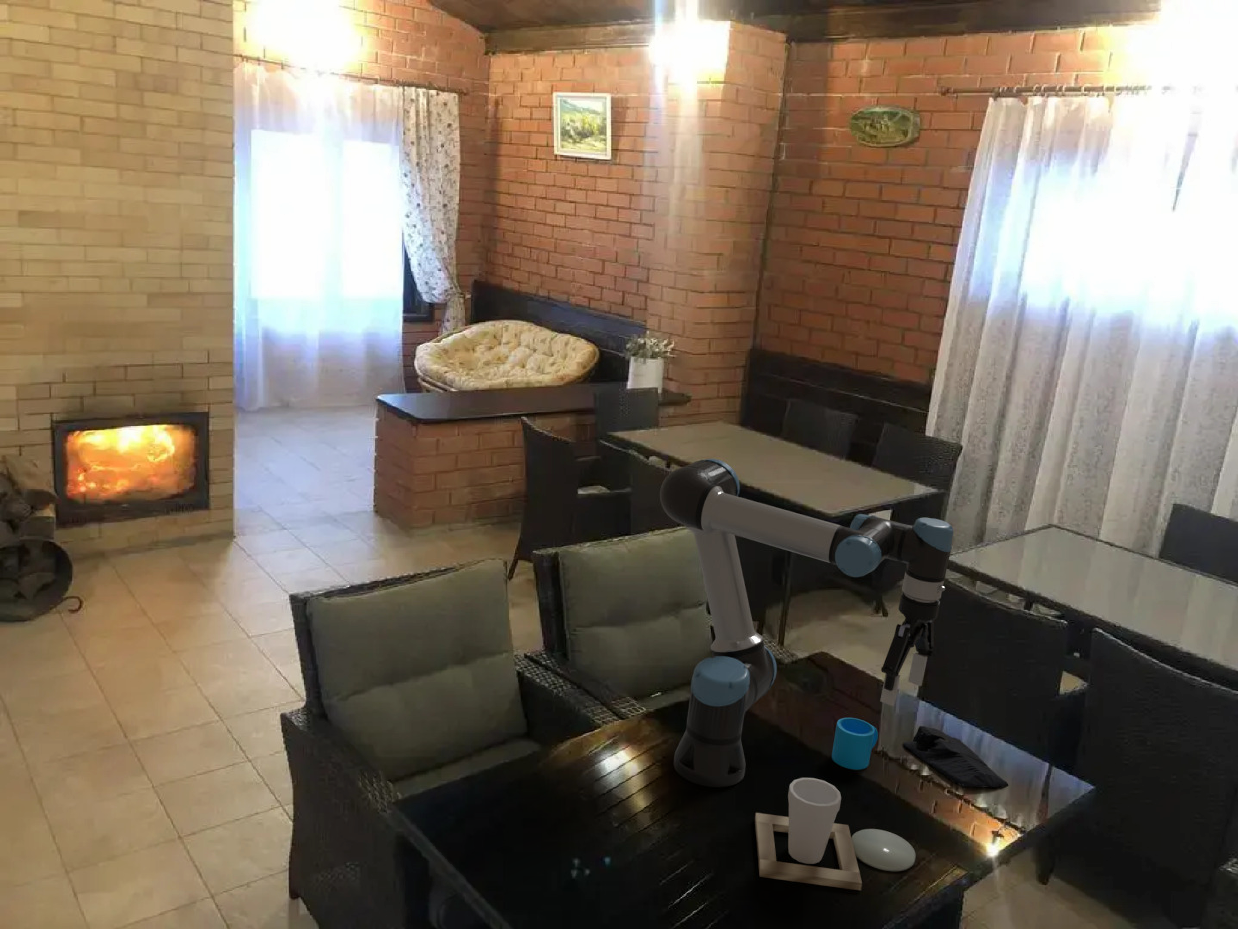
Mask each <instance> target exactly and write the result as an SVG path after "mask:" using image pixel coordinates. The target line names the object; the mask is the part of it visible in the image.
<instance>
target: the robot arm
mask: <svg viewBox="0 0 1238 929" xmlns="http://www.w3.org/2000/svg"><path fill="white" fill-rule="evenodd" d="M740 488H741V487H740V480H739V476H738V475H737V473H736V471H735V470H734V469H733V468H732V466H730V465H729V464H727V463H726V462H724V461H723V460H720V459H716V458H708V459H707V458H706V459H700V460H697V461H693V462H691V463H690V464H688V465H685V466H682V467H680V468H677V469H675V470H673V471H672V472H670V473H669V474H668V475H667V476H666V477H665V479H664V480H663V481H662V484H661V487H660V489H659V498H660V500H659V501H660V504H661V507H662V509H663V511H664V512H665V513H666V514H667V516H668V517H669V518H671V519H672V521H674V522H676V523H679V524H680V525H684V526H685V528H686V529H688V530H689V531H691V532H692V533H693V534H694V539H695V545H696V550H697V554H698V560H699V563H700V568H701V574H702V578H703V583H704V588H705V592H706V597H707V602H708V606H709V610H710V611H709V612H710V616H711V621H712V625H713V631H714V635H715V639H714V641H713V642H712V644H711V645H710V650H711V655H712V657H711V656H710V657H706V658H704V659H703V660H701V661H700V662H698V663H697V664H696V665H695V668H694V670H693V674H692V676H691V677H692V678H691V681H690V693H689V694H690V695H689V703H688V710H687V718H686V729H685V732H684V733H683V736H682V737H681V739H680V741H679V744H678V745H677V747H676V749H675V752H674V757H673V767H674V770H675V771H676V773H677V774H679V776H680V777H682V778H684V779H685V780H687V781H688V782H691V783H693V784H695V785H698V786H704V787H709V788H726V787H730V786H734V785H736V784H739V783H740V782H742V780H743V779H744V776H745V773H746V759H745V755H744V749H743V745H742V744H743V743H742V732H743V727H744V718H745V714H746V712H747V711H748V710H749V709H750V708H751V707H752V706H753V705H754V704H755V703H756V702H757V701H759V699H760V698H762V697H763V696H765V695H767V693H768V692H769V690H770V689H771V688H772V686H773V684H774V681H775V680H776V677H777V670H778V668H777V662H776V658H775V656H774V654H773V652H772V650H770V649H768V648H767V647H766V645H765V643H764V642H765V641H764V637H763V636H762V635H761V634H759V633H758V632H756V631H755V627H754V623H753V619H752V614H751V608H750V603H749V599H748V593H747V589H746V586H745V585H746V584H745V579H744V575H743V570H742V565H741V560H740V555H739V550H738V547H737V540H736V536H738V537H741V538H745V539H748V540H751V541H755V542H758V543H761V544H765V545H768V546H771V547H773V548H774V547H775V548H778V549H782V550H785V551H789V552H790V553H791V552H792V553H795V554H798V555H802V556H805V557H809V558H812V559H816V560H819V561H822V562H826V563H829V564H832V565H836V566H837V568H838V569H839V570H840V571H841V572H842V573H843V574H844V575H847V576H848V577H853V578H859V577H864V576H866V575H868V574H869V573H871V572H873V571H875V569H877V567H879V565H880V564H881V562H883V561H884V560H885V559H887V560H888V559H889V560H892V561H896V562H899V563H904V564H906V568H905V572H904V577H903V581H902V586H901V587H902V588H901V591H902V593H901V595H900V598H899V603H898V611H899V613H900V614H902V615H903V616H904V620H903V622H902V623H901V624H899V623H897V625H896V627H895V630H894V631H895V632H894V634H893V638H892V640H891V643H890V645H889V648H888V651H887V654H886V657H885V659H884V661H883V665H882V667H881V669H880V671H881V672H882V673H883V674H885V675H884V680H883V685H882V690H881V696H880V700H879V702H881V703H883V704H885V705H888V706H891V707H894V706H895V705H896V699H897V694H898V690H899V684H900V678H901V674H900V673H901V672H900V671H901V670H902V667H903V665H904V663H905V661H906V659H907V657H908V654H909V653H910V650H911V648H914V647H915V650H916V651H915V652H913V656H912V660H911V664H910V670H909V674H908V681H907V682H908V683H911V684H913V685H916V686H918V687H922V685H923V682H924V681H923V680H924V675H925V672H926V671H925V670H926V665H927V662H928V657H932V656H933V655H934V651H933V650H934V645H935V644H934V643H935V642H934V641H935V640H934V639H935V634H934V632H935V631H934V626H935V624H934V622H935V620H936V619H937V617H938V614H939V609H940V603H941V601H940V599H941V598H942V593H943V592H945V590H946V587H945V586H944V582H945V579H946V573H947V569H948V564H949V560H950V556H951V552H952V545H953V536H954V528H953V526H952V525H951V524H950V523H949V522H946V521H945V520H941V519H937V518H932V517H931V518H930V517H920V518H917V519H915V522H914V524H910V525H909V524H906V523H902V522H897V521H893V520H890V519H886V518H882V517H879V516H877V515H871V514H870V515H869V514H863V513H859V514H857V515H855V516H854V518H853V519H852V521H851V523H850V526H849V527H846V526H844V525H840V524H837V523H833V522H829V521H825V520H822V519H819V518H815V517H813V516H812V517H811V516H808V515H805V514H800V513H796V512H794V511H791V510H786V509H783V508H779V507H776V506H773V505H769V504H766V503H762V502H759V501H758V502H757V501H754V500H752V499H747V498H745V497H741V496H740V497H739V494H740Z"/></svg>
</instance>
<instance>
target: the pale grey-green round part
mask: <svg viewBox="0 0 1238 929" xmlns="http://www.w3.org/2000/svg"><path fill="white" fill-rule="evenodd" d="M851 839H852V843H853V847H854V851H855V856H856V859H859V861H861V862H863V863H864V864H866V865H868V866H870V867H873V868H874V869H878V870H882V871H886V872H887V871H888V872H901V871H907V870H908V869H910V868H911V867H913V866H914V864H915V862H916V851H915V849H914V848H913V845H911V844H910V843H909V841H907V840H906V839H904V838H903V837H901V836H899V835H897V834H895V833H894V832H893V833H892V832H889V831H886V830H883V829H879V828H878V829H876V828H865V829H861V830H859V831H856V832H855V833H853V834H852V836H851Z"/></svg>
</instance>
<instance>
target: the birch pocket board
mask: <svg viewBox="0 0 1238 929" xmlns="http://www.w3.org/2000/svg"><path fill="white" fill-rule="evenodd" d="M754 825H755V836H756V848H757V849H756V850H757V859H758V860H757V862H758V872H759V874H758V875H759V878H760V877H761V878H768V879H775V880H782V881H788V882H796V883H804V884H811V885H816V886H817V885H819V886H825V887H826V886H827V887H834V888H840V889H845V890H856V891H862V886H863V882H862V878H861V872H860V869H859V866H858V865H859V864H858V861H857V857H856V855H855V851H854V847H853V843H852V839H851V838H852V836H851V830H850V827H849V824H842V823H836V822H834V824H833V827H832V830H831V833H830V836H829V839H831V840H833V842H834V843H833V844H834V847H835V851H836V857H837V862H838V866H839V869H836V868H835V869H834V868H828V867H822V866H821V867H819V866H814V865H813V866H812V865H806V864H800V863H799V864H798V863H792V862H791V863H790V862H783V861H777V856H776V854H777V853H776V847H775V837H774V836H775V835H774V832H780V833H787V834H789V816H783V815H776V814H775V815H774V814H769V813H761V812H755V816H754Z"/></svg>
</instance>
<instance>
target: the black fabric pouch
mask: <svg viewBox="0 0 1238 929" xmlns="http://www.w3.org/2000/svg"><path fill="white" fill-rule="evenodd" d="M902 745H903V747H905V749H908V750H910V751H911V752H912V753H913V754H914V755H915V756H916V757H917V758H919V759H921V761H922V762H925V764H926V765H930V766H932V768H934V769H936V770H937V771H938V772H940V774H942V775H944V776H945V777H946V778H948V779H949V780H950V781H952V782H954V783H955V784H958V785H960V786H961V787H963V788H1000V789H1001V788H1003V787H1006V786H1009V783H1008V782H1007V781H1006V780H1004V779H1003V778H1002V777H1000V776H999V775H998V774H997V773H996V772H995V771H994V770H992V768H990V767H989V766H988V765H987V763H986V762H985V761H984V760H983V759H982V758H981V757H979V755H978V754H976V753H975V752H974V750H972V749H971V748H970V747H969V746H967V744H965V743H964V742H963V741H961V740H960V739H959V738H956V737H953V736H951V735H948V734H947V733H946V732H943V731H941V730H939V729H937V728H933V727H927V726H923V725H920V726H919V727H917V731H916V733H915V736H913V738H912V740H911V741H905V742H902Z"/></svg>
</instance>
